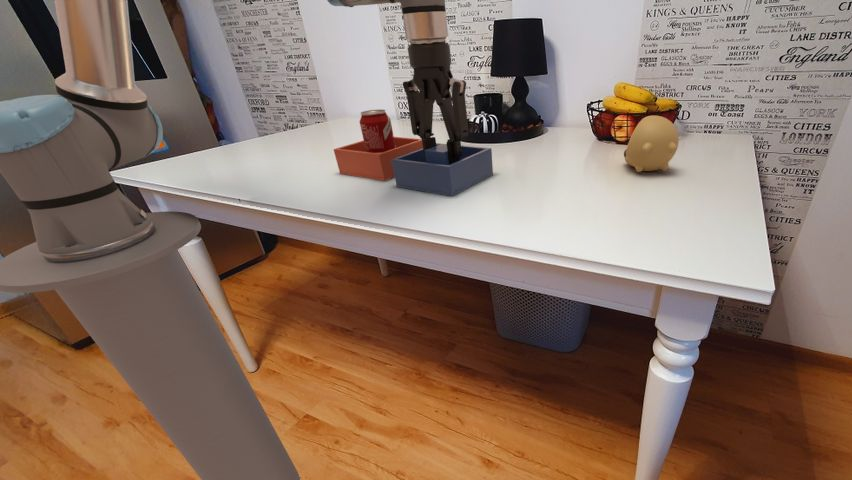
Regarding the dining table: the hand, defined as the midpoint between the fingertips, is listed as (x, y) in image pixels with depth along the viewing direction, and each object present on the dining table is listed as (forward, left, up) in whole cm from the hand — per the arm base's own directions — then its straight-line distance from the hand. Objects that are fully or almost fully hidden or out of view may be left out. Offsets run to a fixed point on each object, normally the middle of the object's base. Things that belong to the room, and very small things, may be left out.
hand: (444, 171), depth 83 cm
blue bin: (0, 0, -2) cm, 2 cm away
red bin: (-20, +2, -2) cm, 20 cm away
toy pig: (+36, +22, -2) cm, 42 cm away
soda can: (-20, +2, -2) cm, 20 cm away
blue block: (0, 0, 0) cm, 0 cm away
